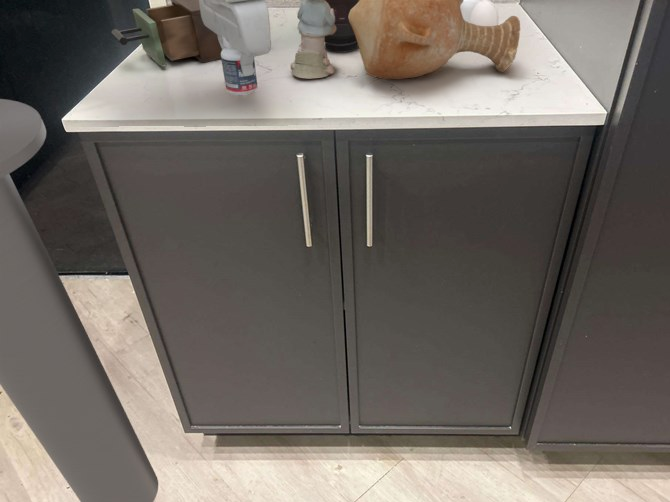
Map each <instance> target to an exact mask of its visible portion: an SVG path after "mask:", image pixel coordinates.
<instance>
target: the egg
mask: <svg viewBox="0 0 670 502" xmlns="http://www.w3.org/2000/svg"><path fill="white" fill-rule="evenodd" d="M499 19H500V18H499V12H498V8H497V6H496V5H495V4H494V3H493V1H491V0H483V1H481V2H479V3H478V4H476V6H475V7H474V8H473V10H472V12H471V14H470V18H469V23H472V24H475V25H479V26H496V25H499V21H500V20H499Z"/></svg>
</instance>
